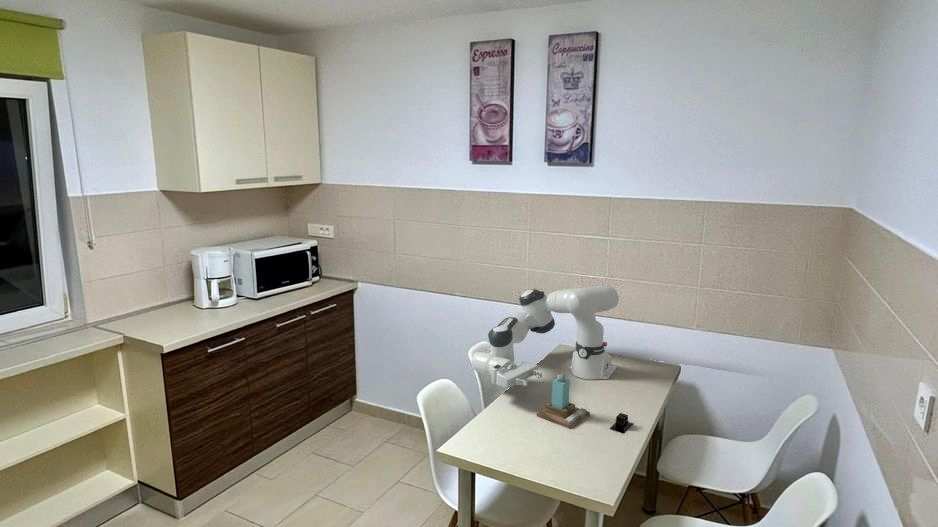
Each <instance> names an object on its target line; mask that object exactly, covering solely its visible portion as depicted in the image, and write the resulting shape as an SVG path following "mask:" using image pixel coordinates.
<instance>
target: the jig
mask: <svg viewBox="0 0 938 527" xmlns="http://www.w3.org/2000/svg"><path fill="white" fill-rule="evenodd" d="M590 413H591V411H589V410H587V408H586V409H585V408H583V407H581V408H579V407H576V404H574V403H571V402H569V407H567V408H566V409H564V410H561V409H558V408H555V407H552V400H551V401H550V402H548V403H547V404H545V405H544V408H542V409H541V410H540V411H538V412H537V413H536V417H538V418H541V419H543V420H546V421H548V422H551V423H554V424H557V425H559V426H561V427H564V428H567V429H569V430H570V429H572V428H573V427H575V426H576V425H578V424H579V423H581V422H582V421H584V420H585V419H586V418H588V417H589V416H590V415H591V414H590Z"/></svg>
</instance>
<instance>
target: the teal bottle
mask: <svg viewBox="0 0 938 527" xmlns="http://www.w3.org/2000/svg"><path fill="white" fill-rule="evenodd" d="M556 376H557V377H556V379H555V378H554V379H553V380H552V384H551V385H552V388H551V401H552V407H555V408H558V409H561V410H564V409H566V408H567V407H569V403H570V384H571V381H570V380H569V379H566V378H567V377H566V374H563V373H558V374H557V375H556Z"/></svg>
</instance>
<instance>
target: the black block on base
mask: <svg viewBox="0 0 938 527" xmlns="http://www.w3.org/2000/svg"><path fill="white" fill-rule="evenodd" d="M634 424H635V423H634V422H631V423H630V421H629V415H628V414H625V413H623V412H620V413H618V414H617V415H616V416H615V423H614V424H613V425H611V426H610V427H609V430H611V431H613V432H616V433H620V434H626V433H627V431H628V430H629V429H631V427H633V425H634Z"/></svg>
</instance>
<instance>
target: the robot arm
mask: <svg viewBox="0 0 938 527" xmlns="http://www.w3.org/2000/svg"><path fill="white" fill-rule="evenodd" d="M518 299H519V304H520V306H521V307H522V310H523V312H522V311H516V312H514V313H513V314H512V315H510V316H509V317H505V318H503V319H502V321H501V322H500V323H499V324H497V325H496V326H494V327H493V328H491V329H490V330H489V331H488V334H487V338H488V341H489V349H490V352H489V351H488V352H485V351H484V352H483V351H476V352H474V353H473V355H472V358H471V366H472V369H473V370H474V371H475V372H477V373H478V374H480V375H481V374H482V375H484V376H486V377H491V384H492V385H495V386H498V387H503V388H506V389H507V388H512V387H513V386H515V385H516V386H525V387H526V386H528V385H529V380H528V379H530V378H531V377H533V376H534V377H535V376H536V378H537V379H541V378H543V373H542V372H540V371H539V366H538V364H536V363H533V362H528V361H521V362H518V363H516V364H515V352H514V344H520V343H522V342H523V341H525V339H526V338H527V335H528V333H529V331H530V332H532V333H536V334H541V335H543V334H546V333H549V332H551V331H552V330H553V329H554V328H555V325H556V322H555V319H554V317H553V315H552V312H553V313H557V314H571V315H572V316H573V318H574V319H575V322H576V328H577V332H576V333H577V334H576V341H575V351H573V352H572V360H571V365H569V367H568V369H569V370H570V371H571V373H572V375H573V376H575V377H577V378H579V379H583V380H584V379H585V380H593V381H594V380H608V379H610V378H611V376H612V375H613V374H614V373H615V371H616V370H617V366H616V365H614V364H612V356H611V355H610V354H609V353H608V352H607V351H606V350H605V349H606V347H607V346H608V342H606V341H604V330H605V329H604V326H603V324H602V323H601V322H600V321H598V320H596V319H597V318H596V313H600V312H607V311H609V310H612V309H615V308H616V307H617V306H618V304H619V300H620V297H619V294H618V291H617V289H616V288H615V287H613V286H608V285H598V286H587V287H578V288H577V287H576V288H565V289H564V288H563V289H557V290H554V291H552V292H550V293H548V294H547V295H545V291H543V290H541V291H540V290H539V289H535V288H532V289H528V290H525V291H524V292H522V294H520V295H519V298H518Z"/></svg>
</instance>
